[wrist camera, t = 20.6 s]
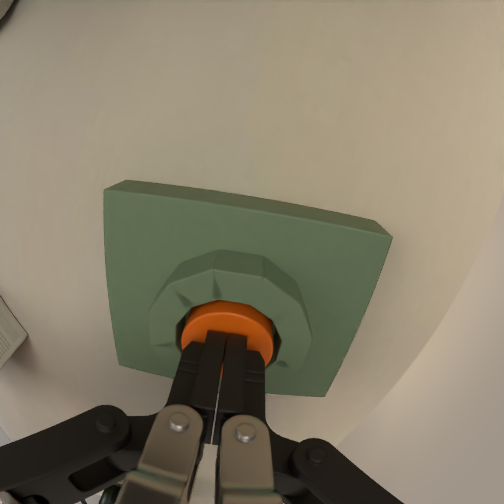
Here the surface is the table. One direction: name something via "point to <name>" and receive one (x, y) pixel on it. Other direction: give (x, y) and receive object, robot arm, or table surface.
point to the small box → (9, 334)
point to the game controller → (4, 6)
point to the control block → (238, 276)
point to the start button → (230, 326)
